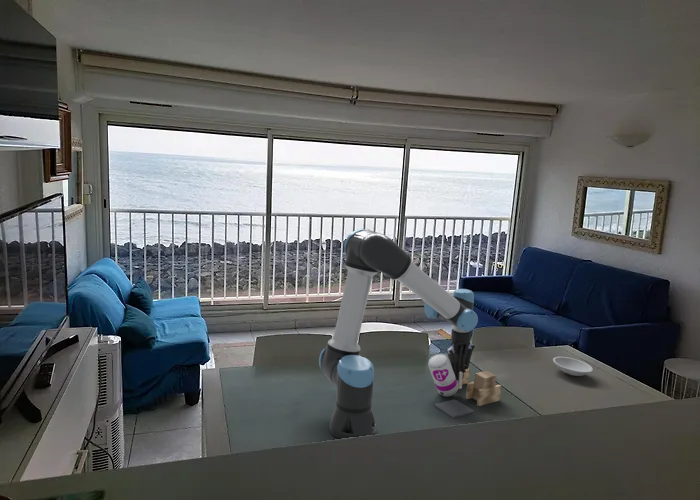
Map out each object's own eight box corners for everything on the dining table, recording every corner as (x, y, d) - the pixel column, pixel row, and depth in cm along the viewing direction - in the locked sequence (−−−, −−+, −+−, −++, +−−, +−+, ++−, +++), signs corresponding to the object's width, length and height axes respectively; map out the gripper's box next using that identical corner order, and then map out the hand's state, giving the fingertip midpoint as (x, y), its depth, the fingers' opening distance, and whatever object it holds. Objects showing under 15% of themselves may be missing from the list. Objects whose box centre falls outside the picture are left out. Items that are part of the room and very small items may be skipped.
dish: (599, 381, 210) (601, 370, 209) (573, 384, 205) (575, 373, 204) (568, 365, 226) (570, 355, 226) (543, 368, 221) (545, 358, 221)
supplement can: (458, 396, 184) (447, 365, 179) (437, 398, 188) (425, 367, 182) (460, 381, 191) (449, 351, 186) (439, 383, 194) (428, 353, 189)
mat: (452, 418, 171) (452, 416, 171) (434, 405, 180) (434, 404, 179) (473, 412, 176) (473, 410, 176) (454, 400, 185) (455, 399, 184)
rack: (478, 405, 181) (481, 380, 180) (436, 380, 202) (438, 357, 200) (500, 400, 187) (502, 375, 185) (457, 376, 207) (459, 354, 206)
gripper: (455, 335, 181) (451, 394, 185) (481, 329, 187) (477, 387, 191) (442, 329, 187) (438, 386, 191) (467, 324, 194) (463, 380, 197)
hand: (458, 387), depth 191 cm, fingers closed
